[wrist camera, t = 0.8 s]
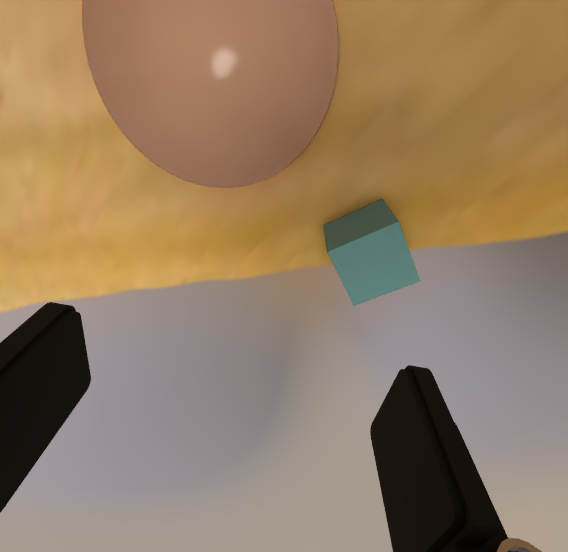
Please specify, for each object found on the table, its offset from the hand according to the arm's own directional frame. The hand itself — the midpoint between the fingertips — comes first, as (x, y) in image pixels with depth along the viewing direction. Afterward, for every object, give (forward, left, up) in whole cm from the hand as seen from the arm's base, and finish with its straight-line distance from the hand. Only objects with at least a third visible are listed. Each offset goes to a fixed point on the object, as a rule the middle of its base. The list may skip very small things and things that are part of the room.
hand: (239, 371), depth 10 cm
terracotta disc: (+5, -9, -23) cm, 26 cm away
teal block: (-8, +6, -24) cm, 26 cm away
